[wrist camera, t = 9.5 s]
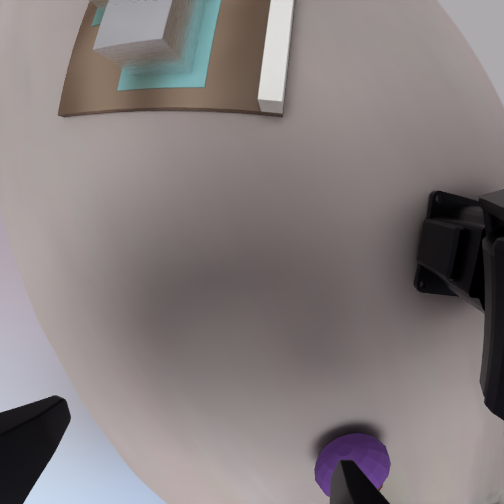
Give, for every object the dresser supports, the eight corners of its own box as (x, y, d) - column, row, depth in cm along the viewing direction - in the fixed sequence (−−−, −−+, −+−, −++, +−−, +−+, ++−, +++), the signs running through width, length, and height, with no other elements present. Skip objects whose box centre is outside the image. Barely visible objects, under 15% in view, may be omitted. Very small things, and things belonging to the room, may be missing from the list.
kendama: (351, 546, 20) (299, 487, 16) (355, 508, 26) (309, 426, 21) (402, 539, 18) (386, 475, 14) (402, 500, 24) (382, 411, 19)
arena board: (300, -57, 13) (300, -64, 13) (282, 116, 17) (282, 113, 16) (113, -40, 15) (109, -44, 14) (64, 117, 18) (56, 115, 17)
